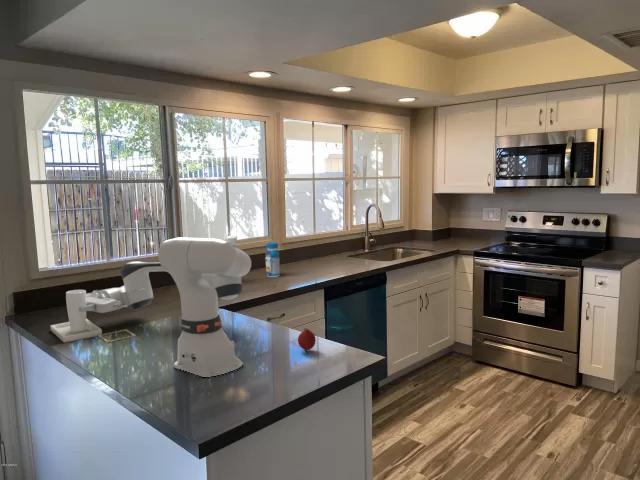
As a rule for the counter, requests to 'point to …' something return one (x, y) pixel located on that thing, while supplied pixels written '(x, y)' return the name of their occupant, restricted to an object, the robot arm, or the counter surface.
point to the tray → (66, 335)
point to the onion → (306, 339)
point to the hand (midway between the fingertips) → (74, 308)
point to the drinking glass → (76, 309)
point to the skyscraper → (231, 239)
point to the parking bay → (116, 339)
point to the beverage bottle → (272, 260)
